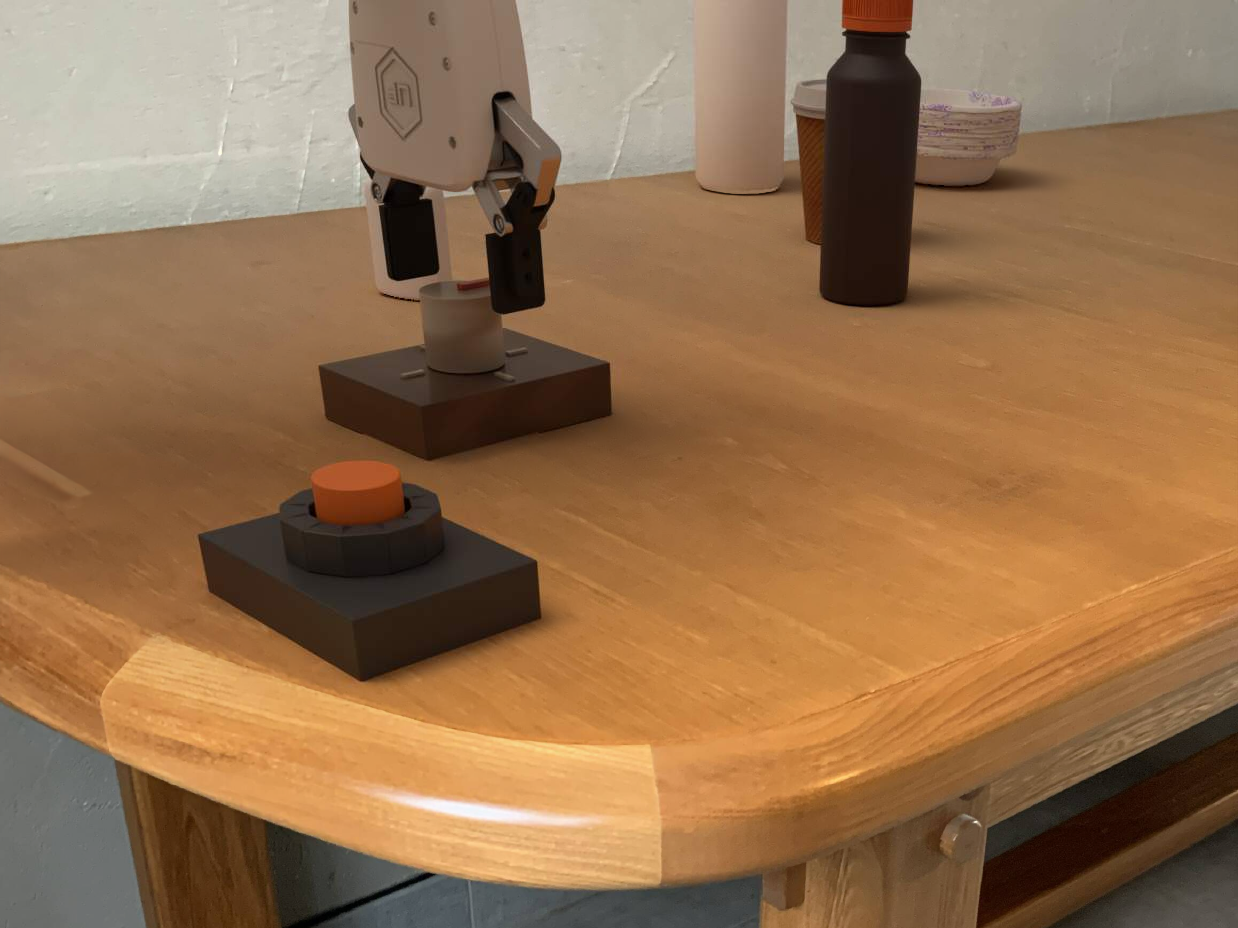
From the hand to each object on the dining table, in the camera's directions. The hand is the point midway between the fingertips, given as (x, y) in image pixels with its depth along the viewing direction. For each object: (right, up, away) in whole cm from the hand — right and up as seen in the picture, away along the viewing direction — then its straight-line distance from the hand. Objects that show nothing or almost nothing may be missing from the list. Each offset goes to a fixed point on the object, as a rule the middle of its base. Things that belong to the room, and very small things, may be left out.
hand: (465, 292), depth 84 cm
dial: (0, -3, +2) cm, 4 cm away
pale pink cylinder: (+12, +36, +67) cm, 77 cm away
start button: (0, -18, -21) cm, 27 cm away
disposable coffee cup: (+22, +23, +48) cm, 58 cm away
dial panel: (-1, -6, +4) cm, 7 cm away
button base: (0, -21, -18) cm, 28 cm away
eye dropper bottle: (-10, +10, +27) cm, 30 cm away
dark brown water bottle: (+23, +12, +31) cm, 41 cm away
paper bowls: (+33, +41, +75) cm, 92 cm away
